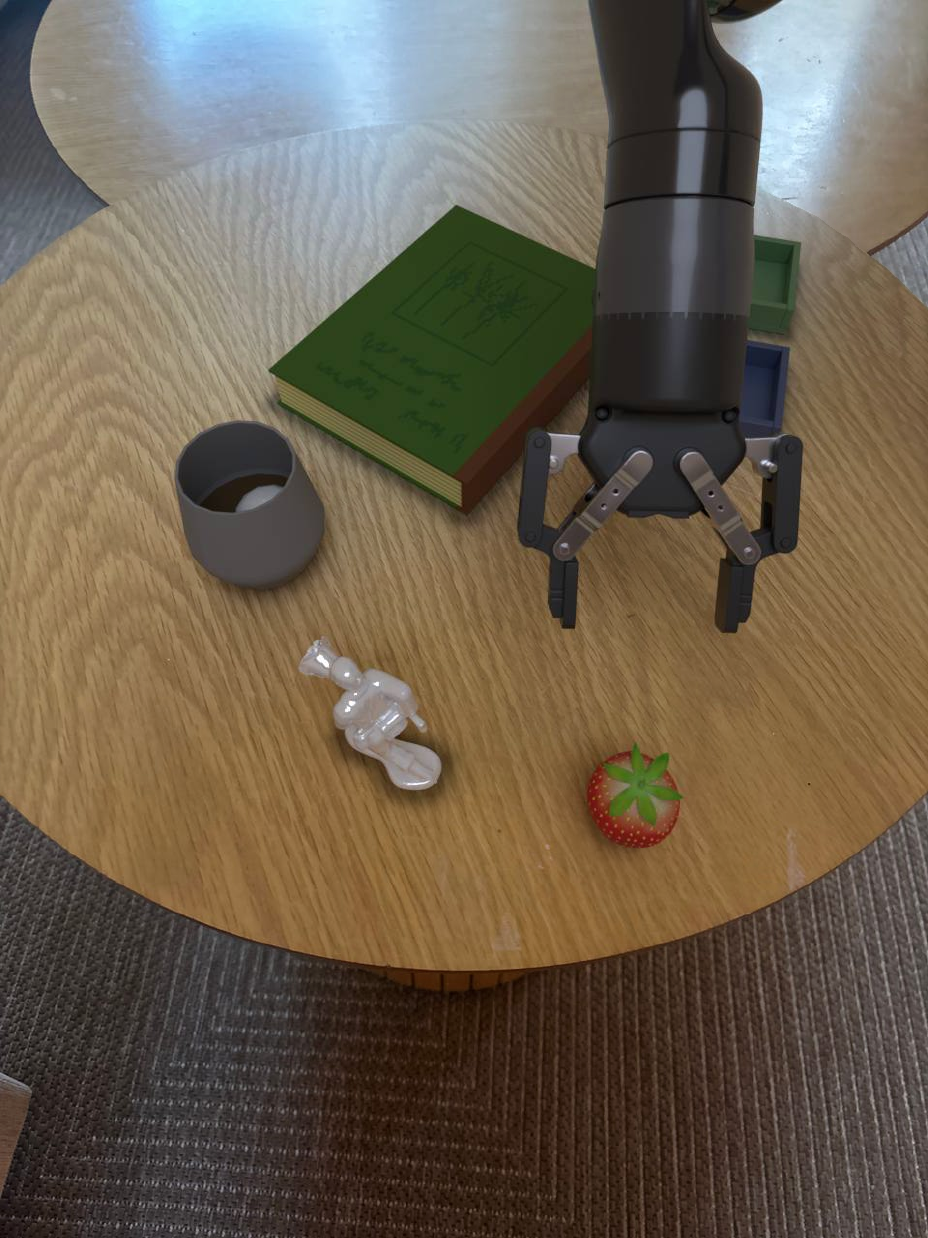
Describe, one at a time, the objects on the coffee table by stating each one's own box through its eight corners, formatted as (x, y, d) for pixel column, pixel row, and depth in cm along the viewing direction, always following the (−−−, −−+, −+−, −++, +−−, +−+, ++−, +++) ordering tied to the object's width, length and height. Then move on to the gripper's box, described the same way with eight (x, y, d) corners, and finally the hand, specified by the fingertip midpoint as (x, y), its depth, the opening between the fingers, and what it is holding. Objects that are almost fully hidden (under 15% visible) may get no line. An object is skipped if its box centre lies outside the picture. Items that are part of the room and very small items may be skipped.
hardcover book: (467, 515, 65) (466, 483, 62) (277, 404, 71) (268, 369, 68) (639, 321, 75) (647, 285, 72) (461, 237, 81) (461, 199, 77)
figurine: (421, 810, 54) (410, 738, 44) (295, 745, 57) (256, 661, 46) (458, 745, 56) (455, 661, 46) (335, 685, 59) (305, 591, 48)
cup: (262, 482, 67) (231, 387, 58) (358, 541, 64) (341, 450, 56) (173, 568, 63) (126, 481, 54) (272, 635, 60) (239, 553, 52)
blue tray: (780, 370, 72) (790, 346, 70) (771, 451, 68) (781, 428, 66) (674, 352, 73) (680, 327, 71) (659, 429, 69) (665, 406, 67)
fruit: (561, 812, 54) (575, 767, 47) (623, 764, 56) (646, 713, 49) (620, 883, 52) (644, 847, 45) (684, 830, 54) (716, 788, 47)
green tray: (792, 266, 79) (801, 241, 76) (784, 334, 74) (794, 309, 72) (693, 250, 80) (700, 225, 77) (681, 316, 76) (687, 292, 73)
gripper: (528, 302, 40) (517, 645, 44) (846, 307, 40) (803, 651, 44) (521, 313, 47) (512, 607, 52) (790, 317, 47) (758, 612, 51)
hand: (646, 627), depth 48 cm, fingers open, 8 cm apart
